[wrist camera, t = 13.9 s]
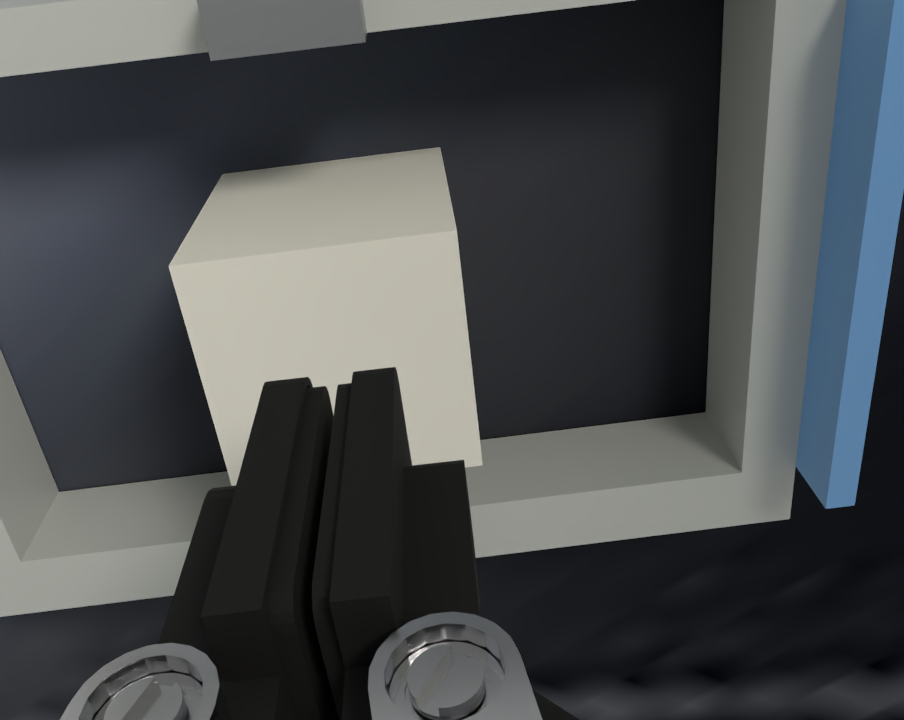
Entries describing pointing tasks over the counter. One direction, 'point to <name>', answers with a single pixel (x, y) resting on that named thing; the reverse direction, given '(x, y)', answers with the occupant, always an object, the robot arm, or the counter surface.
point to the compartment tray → (588, 448)
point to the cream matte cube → (332, 294)
